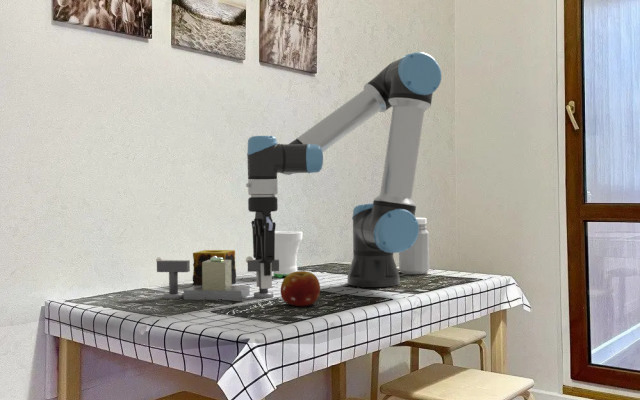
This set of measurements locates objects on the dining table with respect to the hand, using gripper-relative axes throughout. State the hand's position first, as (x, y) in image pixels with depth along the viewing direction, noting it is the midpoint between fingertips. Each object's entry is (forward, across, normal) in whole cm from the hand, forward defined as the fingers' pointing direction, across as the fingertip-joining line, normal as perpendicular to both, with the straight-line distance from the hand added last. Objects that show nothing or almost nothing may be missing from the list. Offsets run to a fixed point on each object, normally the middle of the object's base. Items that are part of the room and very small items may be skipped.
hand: (264, 287), depth 174 cm
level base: (+3, -5, -11) cm, 12 cm away
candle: (+3, -28, -6) cm, 28 cm away
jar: (+3, -27, +60) cm, 66 cm away
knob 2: (+2, 0, 0) cm, 2 cm away
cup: (+3, -37, +18) cm, 41 cm away
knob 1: (+2, -9, -22) cm, 23 cm away
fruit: (+3, +15, +4) cm, 16 cm away
